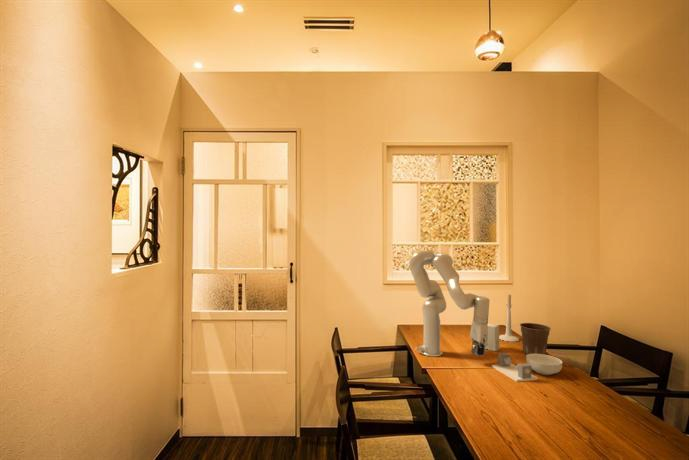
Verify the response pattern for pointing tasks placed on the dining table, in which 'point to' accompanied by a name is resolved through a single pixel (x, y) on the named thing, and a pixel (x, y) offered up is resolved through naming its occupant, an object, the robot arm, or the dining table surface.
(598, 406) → the dining table surface
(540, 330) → the plant pot
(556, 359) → the cereal bowl
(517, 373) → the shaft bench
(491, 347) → the skincare box
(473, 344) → the joint block
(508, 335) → the candlestick
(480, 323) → the robot arm
